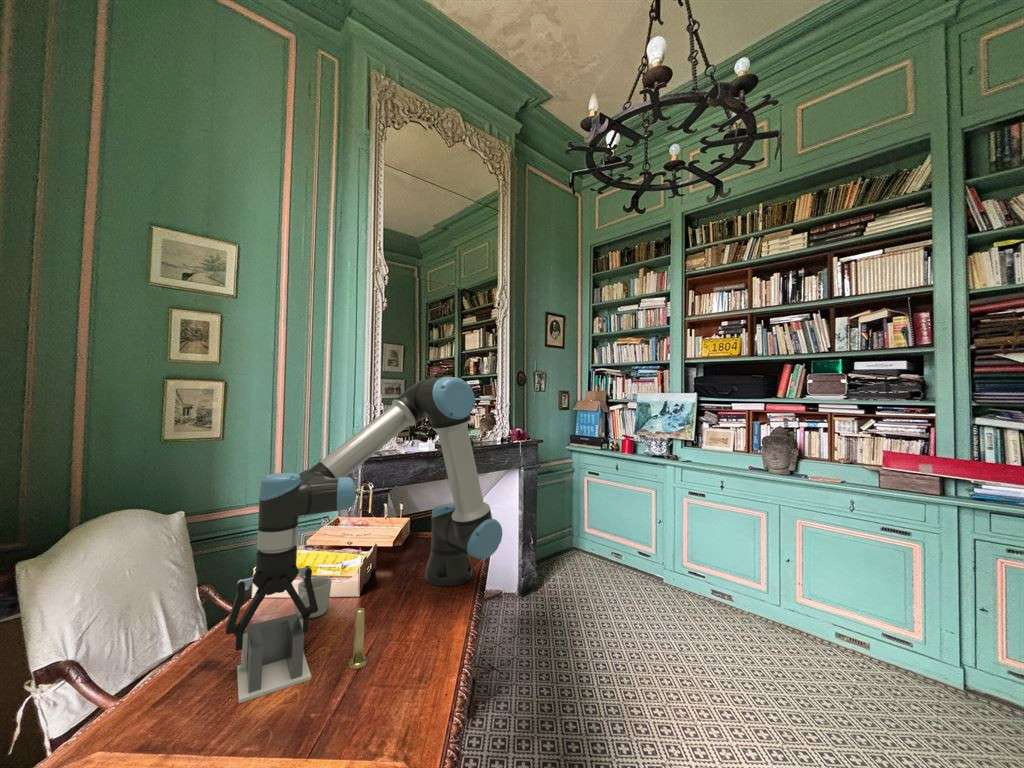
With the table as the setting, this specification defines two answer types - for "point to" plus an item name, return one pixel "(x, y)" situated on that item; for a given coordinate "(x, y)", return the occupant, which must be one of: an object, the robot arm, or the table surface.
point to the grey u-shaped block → (274, 647)
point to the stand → (358, 641)
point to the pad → (270, 679)
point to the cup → (316, 594)
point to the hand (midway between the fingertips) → (272, 656)
